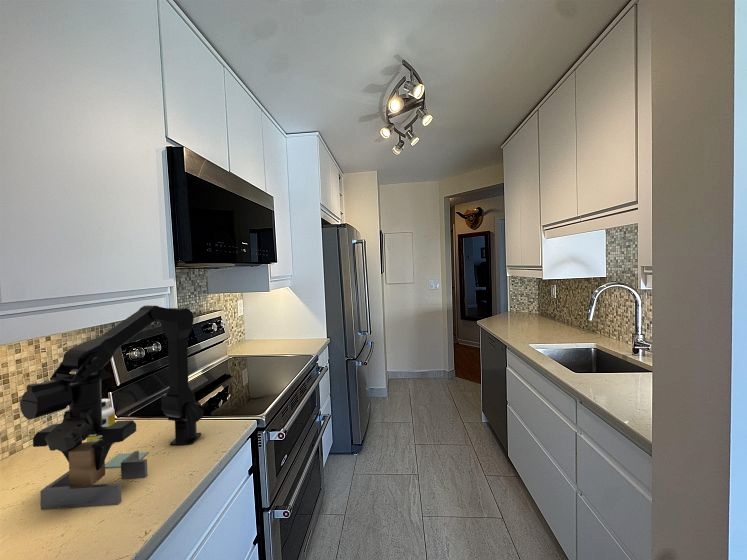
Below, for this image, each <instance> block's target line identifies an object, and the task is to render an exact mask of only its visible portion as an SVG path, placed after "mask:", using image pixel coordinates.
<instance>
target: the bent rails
mask: <svg viewBox="0 0 747 560" xmlns="http://www.w3.org/2000/svg"><path fill="white" fill-rule="evenodd" d="M131 453H132V454H131V455H130V456H128V457H127V458H126V459H125V460H124V461H122V462H121V468H120V479H121V480H124V479H125V480H127V479H130V480H131V479H144V478H146V477H147V476H148V459H146V458H145V459H144V458H142V459H141V460H139V453H140V451H139V450H135V451H133V452H131ZM39 493H40V494H39V495H40V510H41V511H42V510H55V509H58V510H59V509H71V508H72V509H73V508H86V507H98V506H99V507H100V506H112V505H113V506H114V505H115V506H118V505H119V504H120V503H121V502H122V483H104V484H94V485H84V486H70V483H69V470H68V471H67V472H65V473H64V474H62V475H60V476H59V477H58V478H56V479H55V480H53V481H52V482H51V483H49V484H48V485H46V486H45V487H44V488H42V489H41V490H40V492H39Z"/></svg>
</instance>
